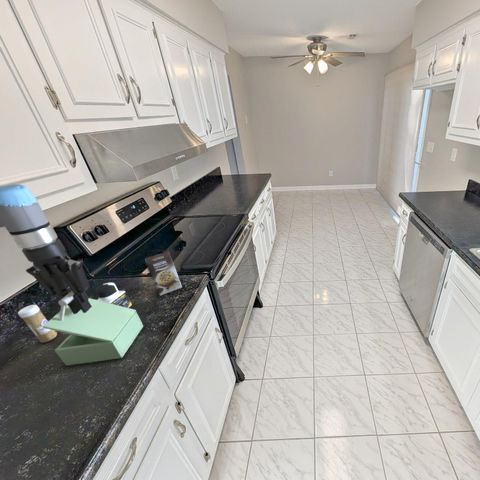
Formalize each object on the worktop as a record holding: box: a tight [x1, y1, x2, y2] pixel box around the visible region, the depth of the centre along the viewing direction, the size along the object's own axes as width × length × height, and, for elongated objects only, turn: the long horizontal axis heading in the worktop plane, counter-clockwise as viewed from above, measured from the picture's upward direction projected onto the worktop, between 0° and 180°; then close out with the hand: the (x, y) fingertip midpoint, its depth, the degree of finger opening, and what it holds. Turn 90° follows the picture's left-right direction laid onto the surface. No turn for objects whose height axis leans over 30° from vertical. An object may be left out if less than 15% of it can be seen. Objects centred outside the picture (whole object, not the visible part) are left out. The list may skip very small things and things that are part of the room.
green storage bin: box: [54, 311, 144, 366], centre depth 84 cm, size 17×14×7 cm
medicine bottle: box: [94, 282, 133, 308], centre depth 98 cm, size 7×7×12 cm
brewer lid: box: [43, 290, 137, 343], centre depth 79 cm, size 17×14×9 cm
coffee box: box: [144, 251, 183, 296], centre depth 108 cm, size 9×6×16 cm
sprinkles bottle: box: [17, 304, 58, 343], centre depth 87 cm, size 5×5×14 cm
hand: (83, 310), depth 79 cm, fingers closed on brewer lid, 2 cm apart
